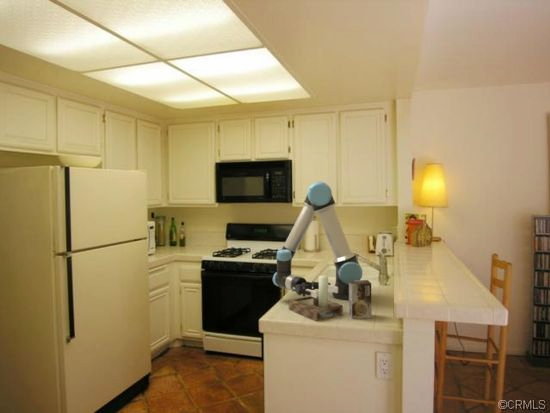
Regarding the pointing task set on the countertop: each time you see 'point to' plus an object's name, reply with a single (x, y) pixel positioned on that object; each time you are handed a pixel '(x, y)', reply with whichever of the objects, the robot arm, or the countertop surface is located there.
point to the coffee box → (360, 299)
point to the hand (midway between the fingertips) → (327, 292)
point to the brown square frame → (313, 307)
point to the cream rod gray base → (323, 298)
